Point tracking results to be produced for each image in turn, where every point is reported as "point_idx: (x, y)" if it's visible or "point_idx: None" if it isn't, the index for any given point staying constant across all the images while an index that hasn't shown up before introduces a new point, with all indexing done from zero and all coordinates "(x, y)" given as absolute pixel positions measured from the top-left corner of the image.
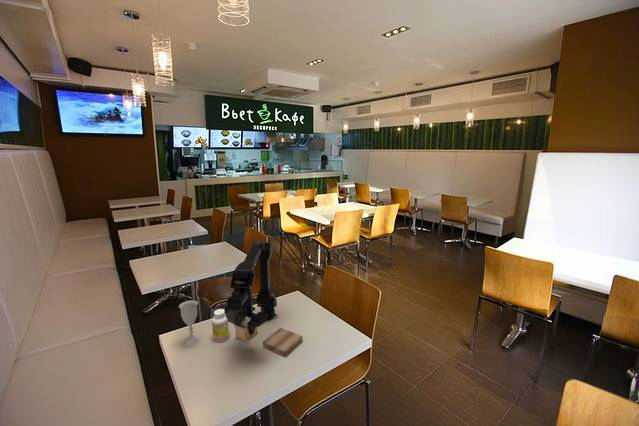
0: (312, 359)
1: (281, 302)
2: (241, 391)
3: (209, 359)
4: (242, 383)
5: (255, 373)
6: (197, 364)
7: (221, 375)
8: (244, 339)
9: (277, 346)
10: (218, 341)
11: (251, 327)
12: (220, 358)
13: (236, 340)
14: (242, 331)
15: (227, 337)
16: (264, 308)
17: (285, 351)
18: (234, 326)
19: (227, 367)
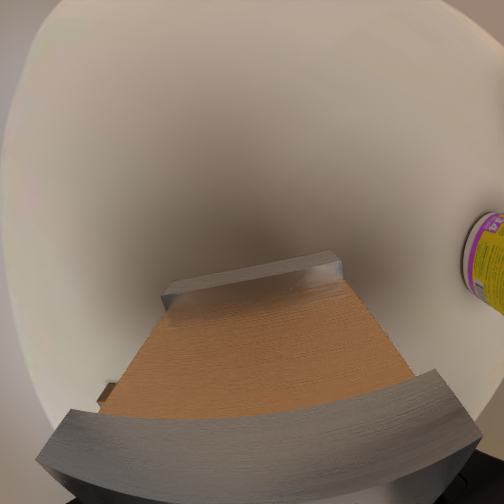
0: (65, 409)
1: None
2: (51, 115)
3: (391, 90)
4: (77, 135)
5: (86, 223)
6: (391, 35)
7: (204, 65)
8: (161, 322)
9: None
10: (478, 221)
11: (74, 499)
12: (356, 135)
13: (305, 258)
14: (150, 408)
15: (466, 276)
16: None
17: (99, 403)
18: (442, 397)
19: (240, 119)
